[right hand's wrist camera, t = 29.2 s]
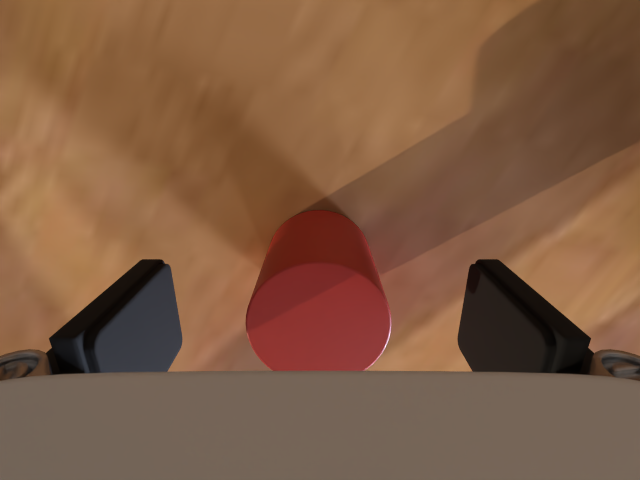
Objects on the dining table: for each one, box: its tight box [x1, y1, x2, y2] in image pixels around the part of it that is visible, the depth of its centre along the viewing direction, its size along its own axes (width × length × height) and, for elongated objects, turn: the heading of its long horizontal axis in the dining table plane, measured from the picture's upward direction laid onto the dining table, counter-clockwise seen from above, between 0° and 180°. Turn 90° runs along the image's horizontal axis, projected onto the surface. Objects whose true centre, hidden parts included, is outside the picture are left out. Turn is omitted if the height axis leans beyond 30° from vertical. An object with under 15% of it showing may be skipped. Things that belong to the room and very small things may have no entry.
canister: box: [246, 210, 391, 371], centre depth 11 cm, size 4×4×5 cm
